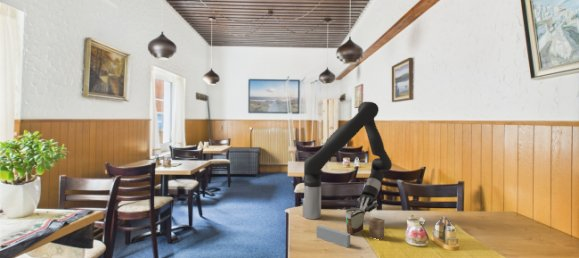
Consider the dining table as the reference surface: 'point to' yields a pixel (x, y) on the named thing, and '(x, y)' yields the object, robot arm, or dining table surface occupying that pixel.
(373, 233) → the walnut block
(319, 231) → the rail
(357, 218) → the food container
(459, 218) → the dining table surface
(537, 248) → the dining table surface
